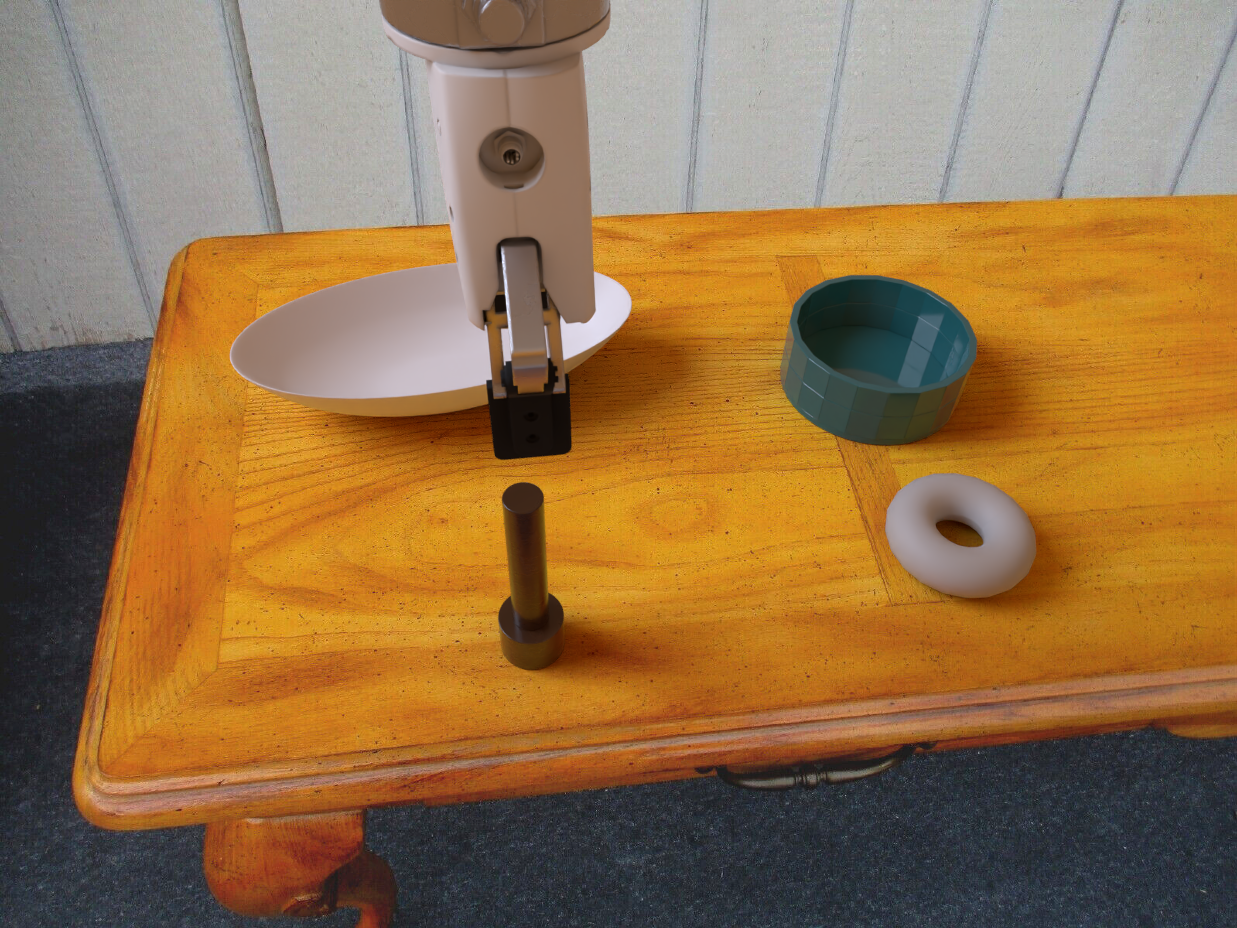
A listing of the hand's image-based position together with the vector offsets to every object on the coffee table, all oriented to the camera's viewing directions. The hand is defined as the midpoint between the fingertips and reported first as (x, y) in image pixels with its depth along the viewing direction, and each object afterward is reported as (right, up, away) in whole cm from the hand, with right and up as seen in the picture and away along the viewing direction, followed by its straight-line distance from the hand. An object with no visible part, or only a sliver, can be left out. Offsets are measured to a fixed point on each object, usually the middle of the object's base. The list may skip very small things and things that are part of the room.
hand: (524, 375), depth 43 cm
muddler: (-1, -15, +17) cm, 23 cm away
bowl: (-9, +2, +33) cm, 35 cm away
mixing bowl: (+25, +3, +34) cm, 42 cm away
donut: (+27, -10, +23) cm, 37 cm away
